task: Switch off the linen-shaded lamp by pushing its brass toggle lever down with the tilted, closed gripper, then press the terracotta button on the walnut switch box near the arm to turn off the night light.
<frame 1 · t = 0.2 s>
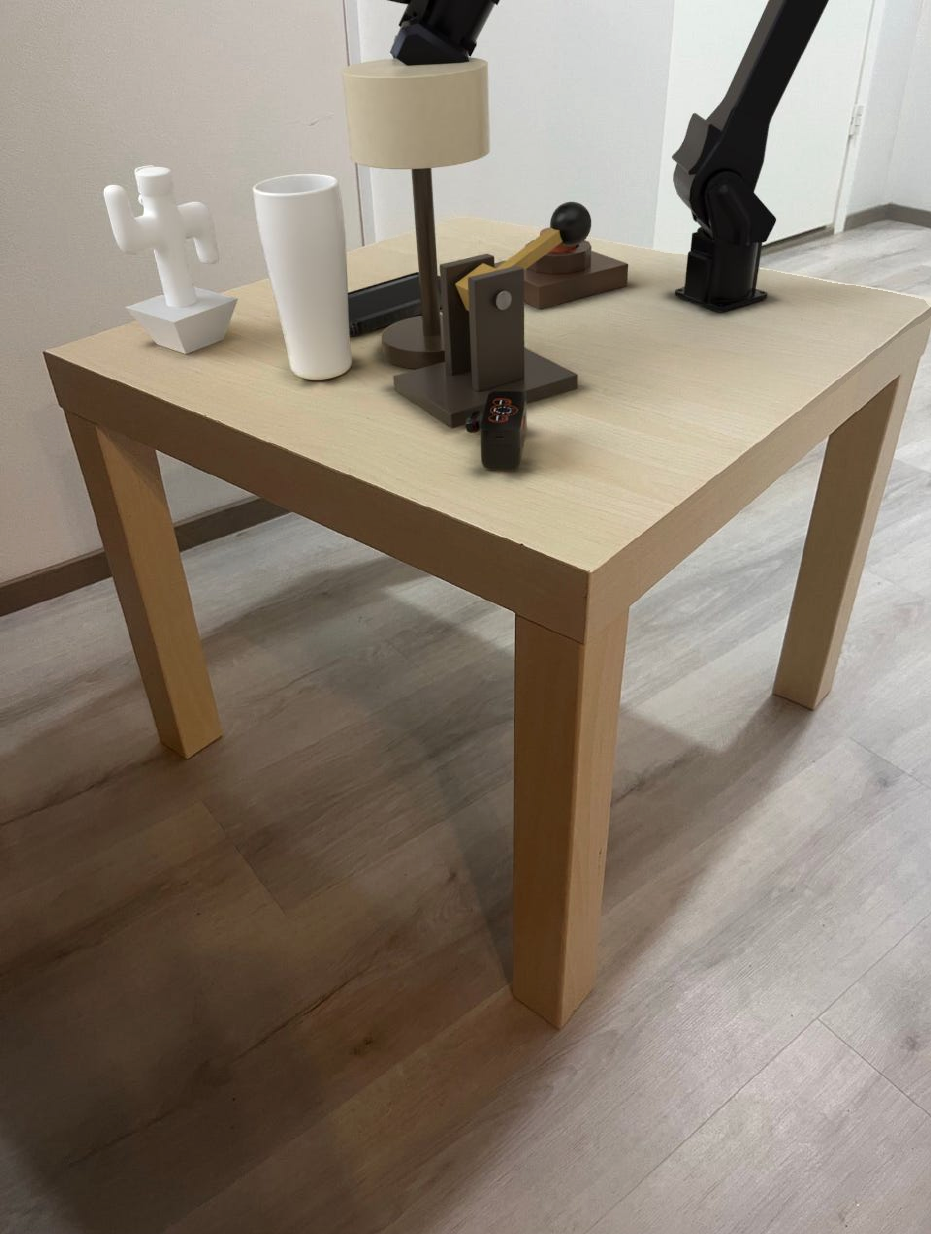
hand: (386, 141, 82), 15 cm above the table, tool tilted 35°, fingers closed
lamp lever: (527, 256, 72), point 10 cm above the table, hinge at 22.0°
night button: (558, 240, 93), point 4 cm above the table, slide at 0.1 cm
figurine: (190, 344, 88), on the table
wireless earbuds: (495, 449, 68), on the table
lamp switch: (485, 389, 76), on the table
lamp: (433, 350, 83), on the table
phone: (388, 309, 92), on the table
drinking glass: (322, 372, 81), on the table
switch box: (557, 286, 96), on the table
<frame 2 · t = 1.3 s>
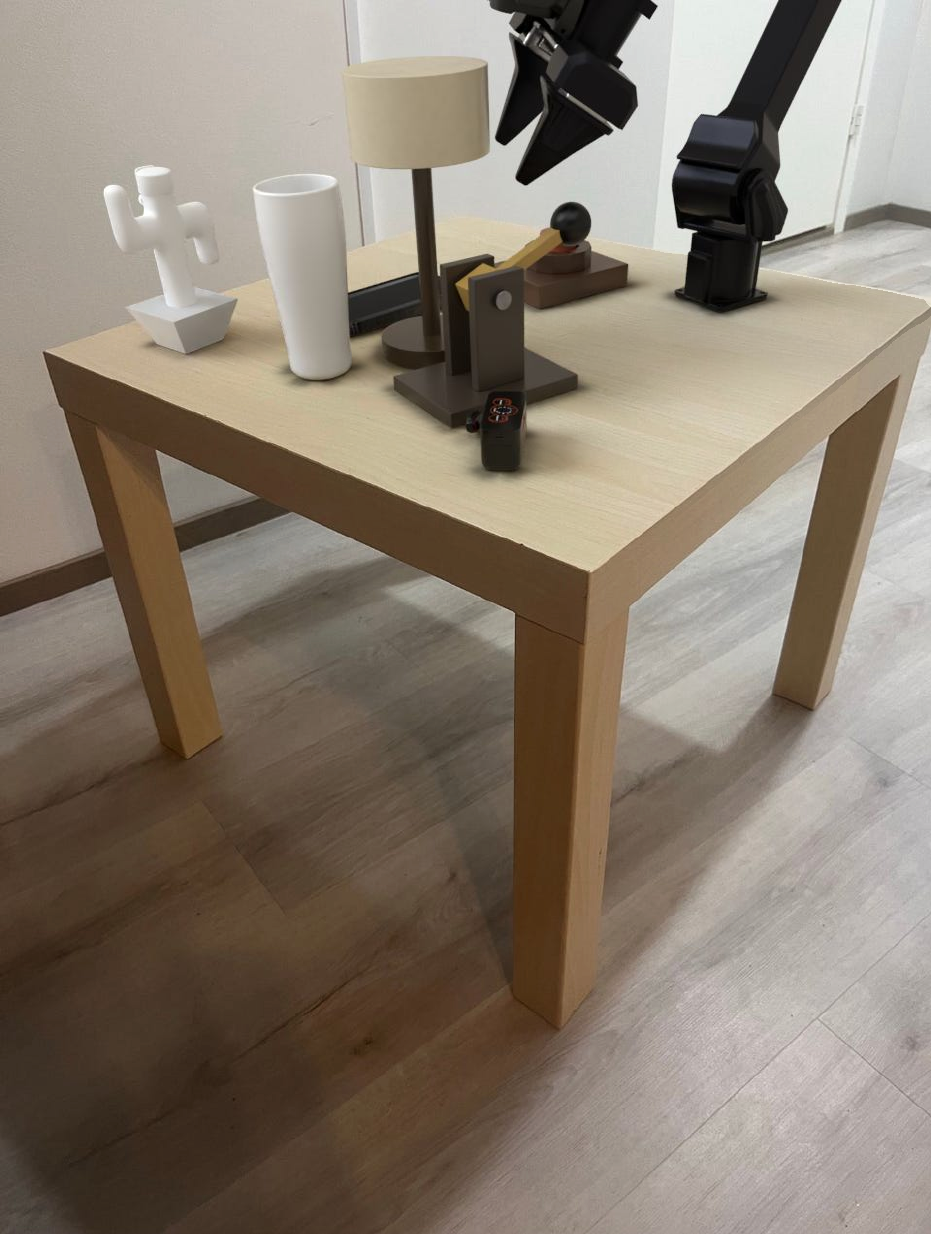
hand: (509, 161, 76), 15 cm above the table, tool tilted 35°, fingers open, 9 cm apart
nothing on the table moved.
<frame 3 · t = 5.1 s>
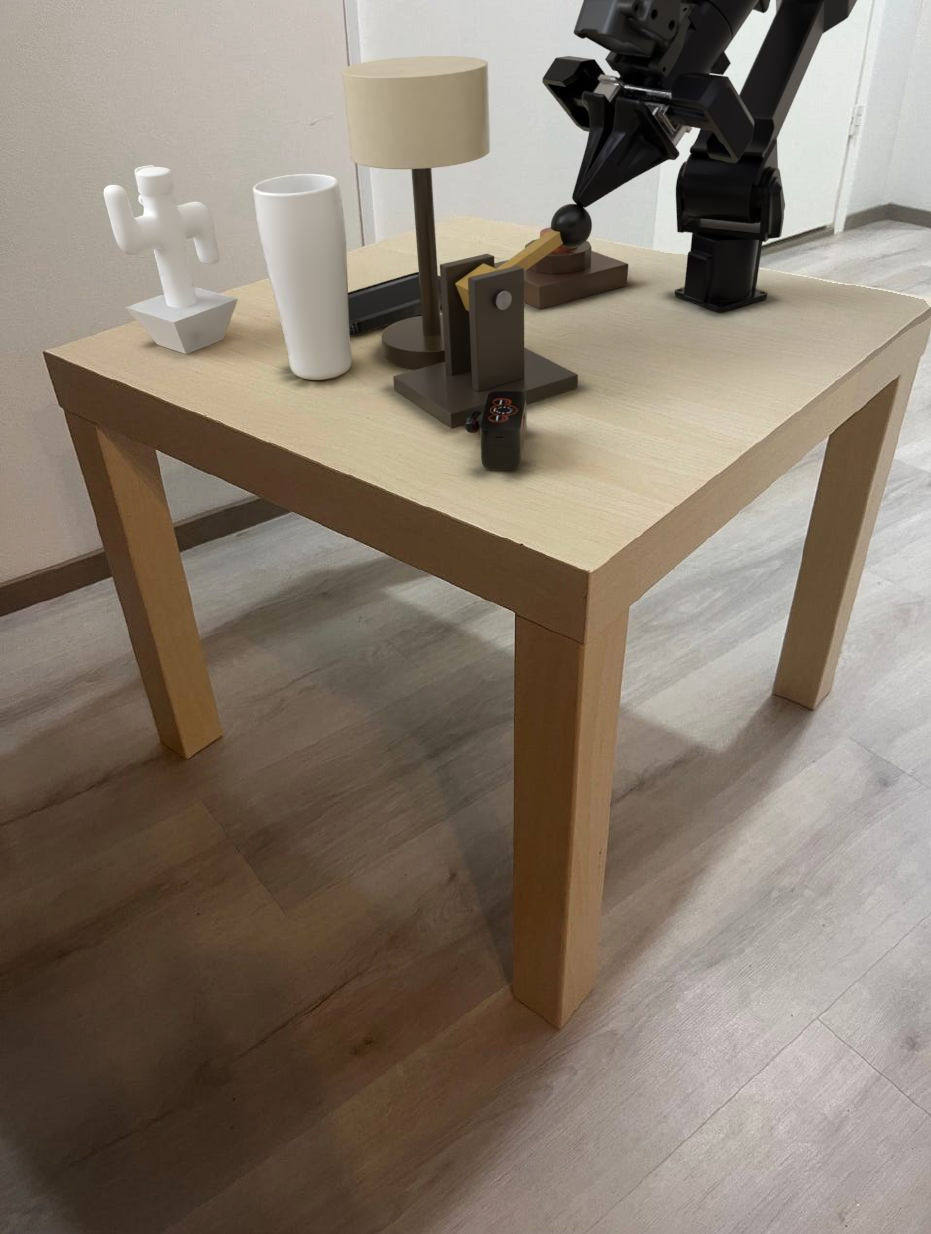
hand: (577, 203, 72), 13 cm above the table, tool tilted 45°, fingers closed, pressing on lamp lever
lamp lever: (528, 257, 72), point 10 cm above the table, hinge at 20.8°, touching gripper
everything else where it was.
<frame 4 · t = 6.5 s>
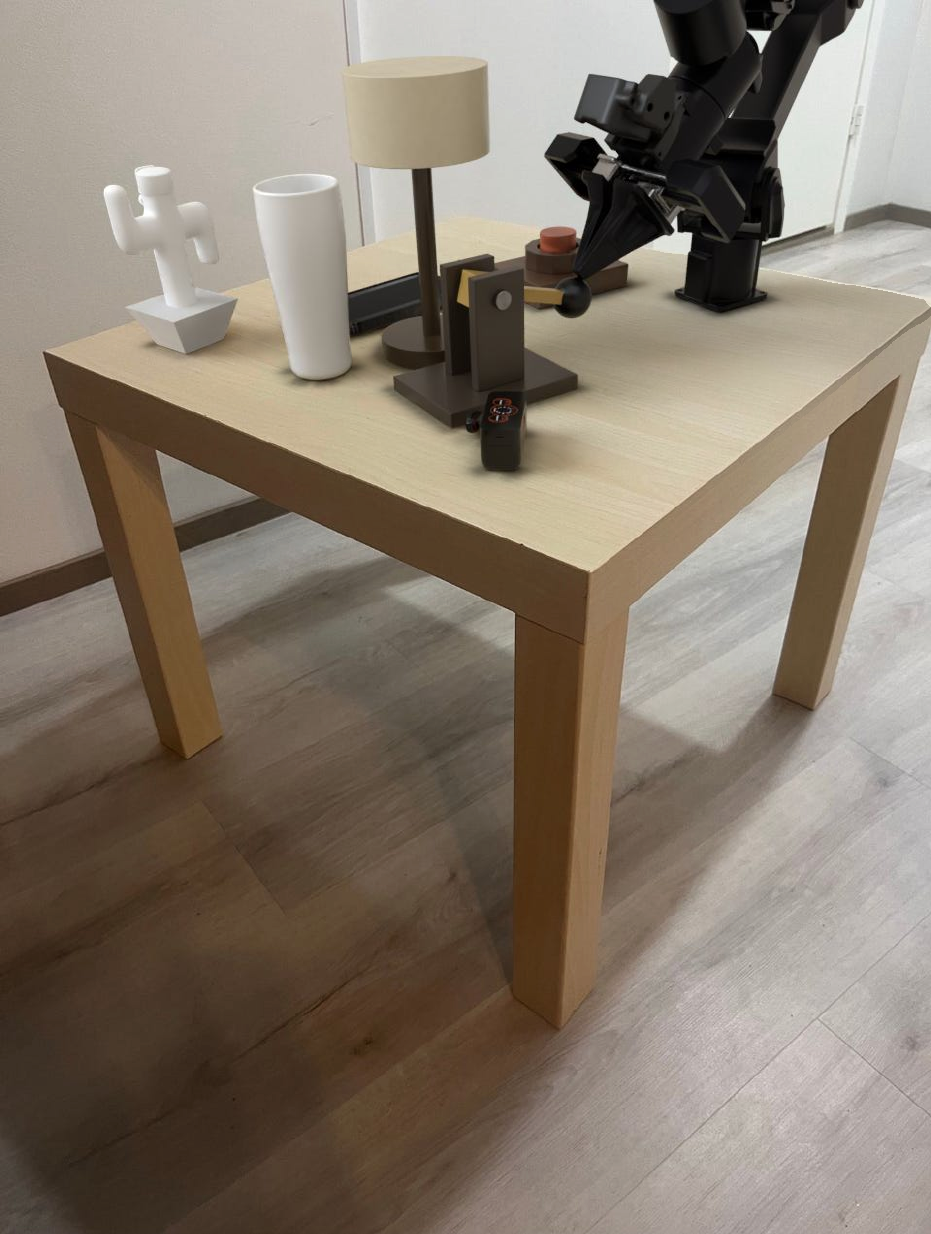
hand: (577, 276, 75), 7 cm above the table, tool tilted 45°, fingers closed, pressing on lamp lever
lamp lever: (529, 294, 74), point 7 cm above the table, hinge at -15.6°, touching gripper
everything else where it was.
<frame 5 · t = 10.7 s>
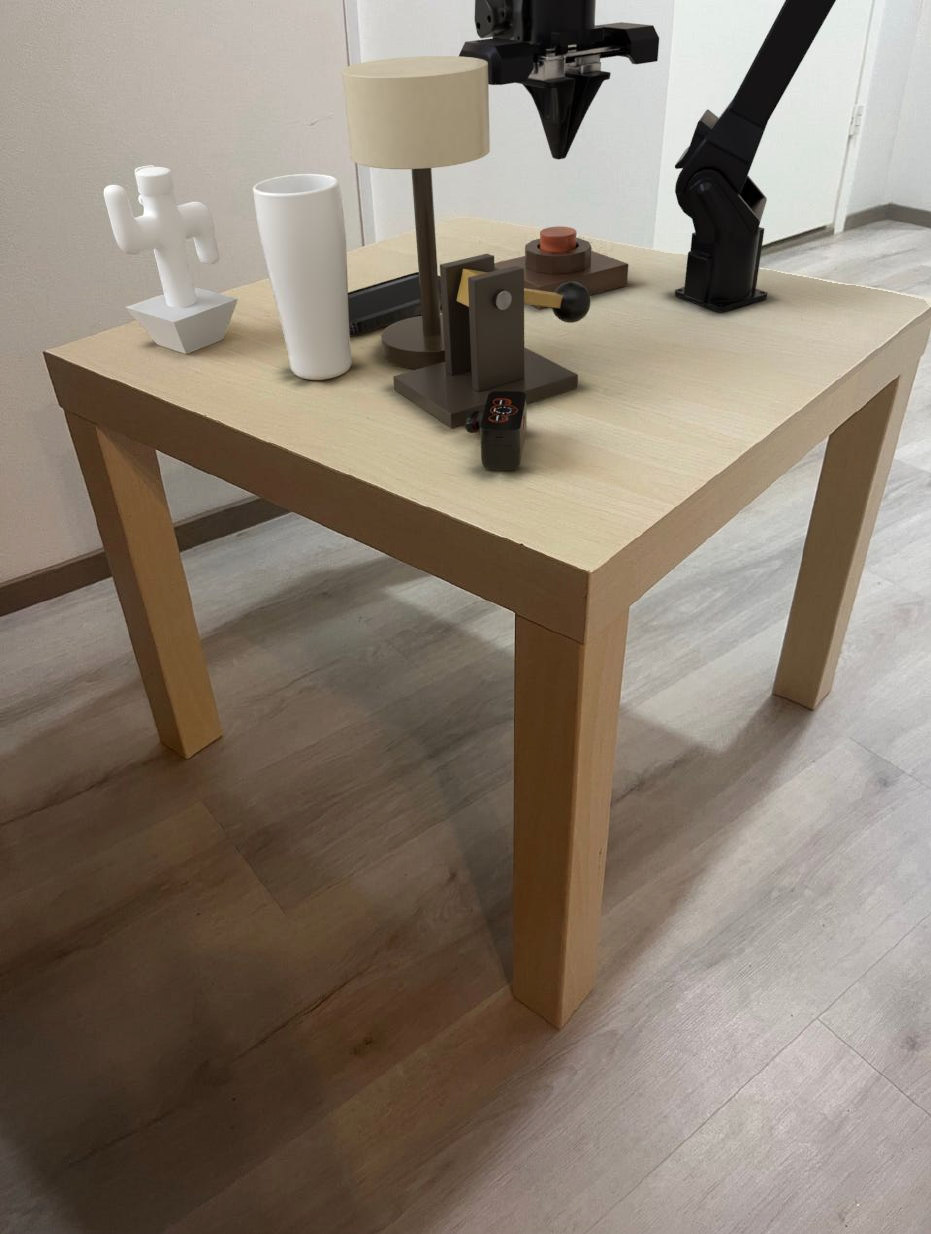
hand: (558, 158, 88), 12 cm above the table, tool pointing down, fingers closed
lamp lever: (529, 296, 74), point 7 cm above the table, hinge at -17.8°
everything else where it was.
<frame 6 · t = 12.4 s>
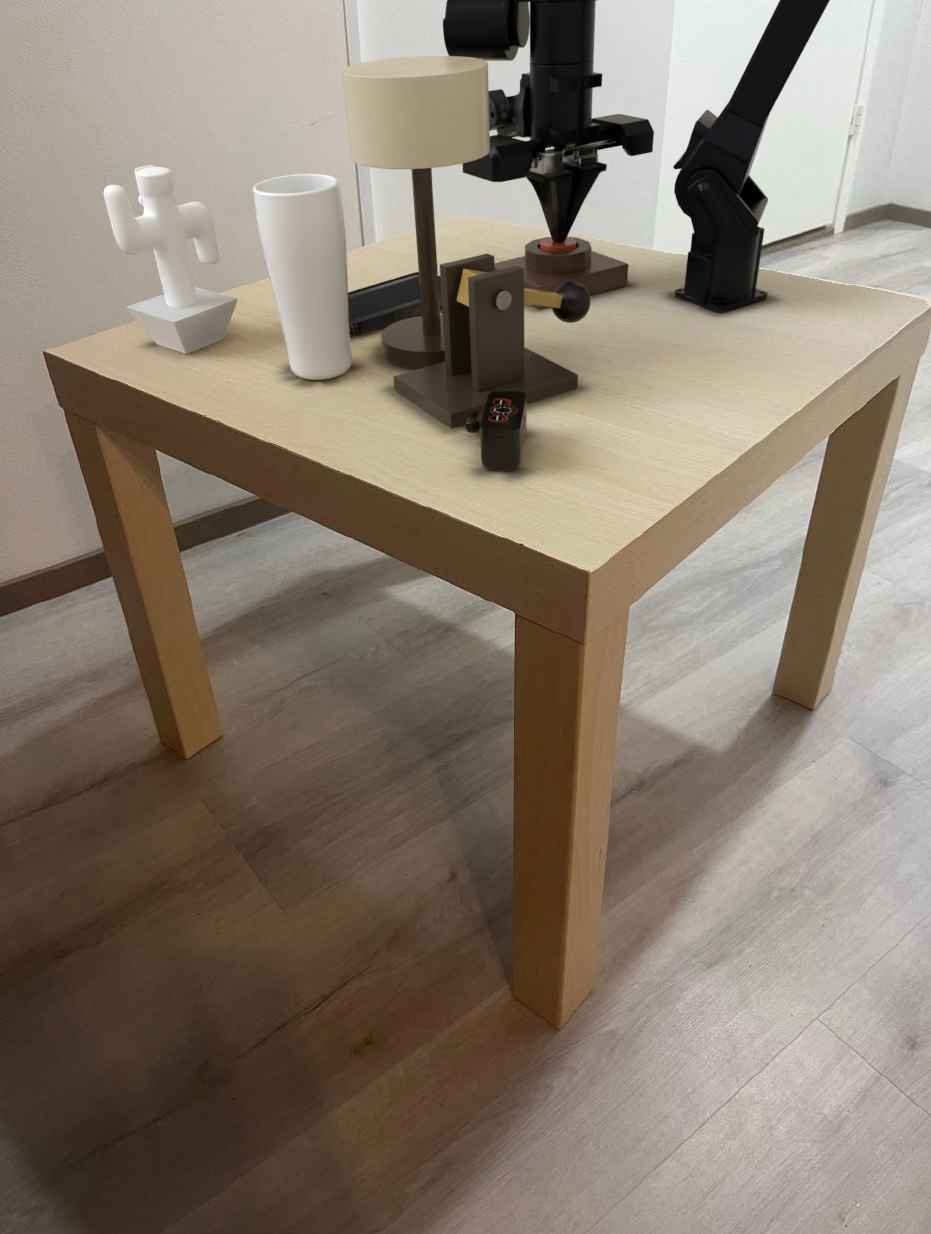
hand: (558, 241, 93), 4 cm above the table, tool pointing down, fingers closed, pressing on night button
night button: (557, 250, 94), point 4 cm above the table, slide at -0.9 cm, touching gripper
everything else where it was.
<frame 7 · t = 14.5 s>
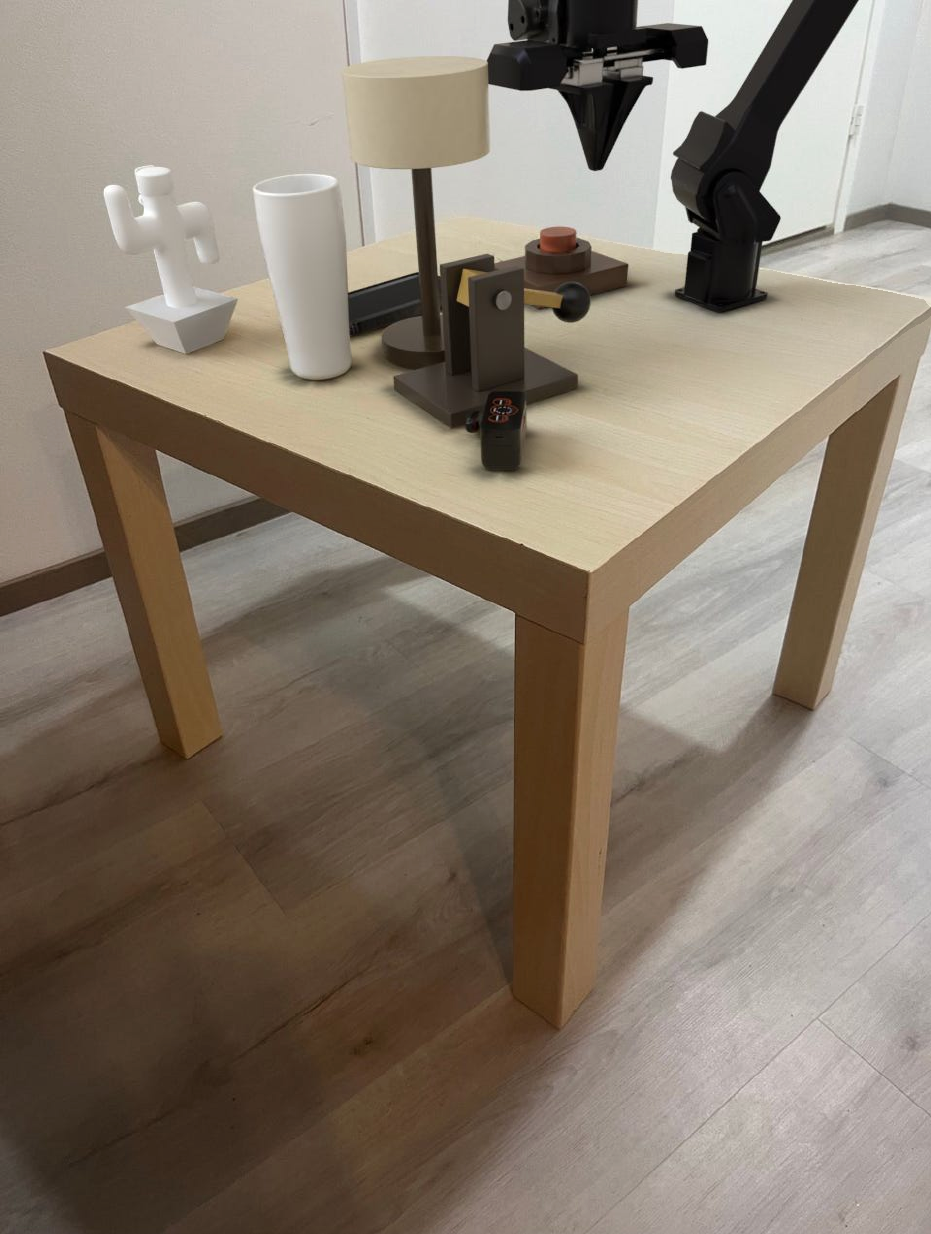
hand: (595, 170, 82), 13 cm above the table, tool pointing down, fingers closed
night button: (558, 240, 93), point 4 cm above the table, slide at 0.1 cm
everything else where it was.
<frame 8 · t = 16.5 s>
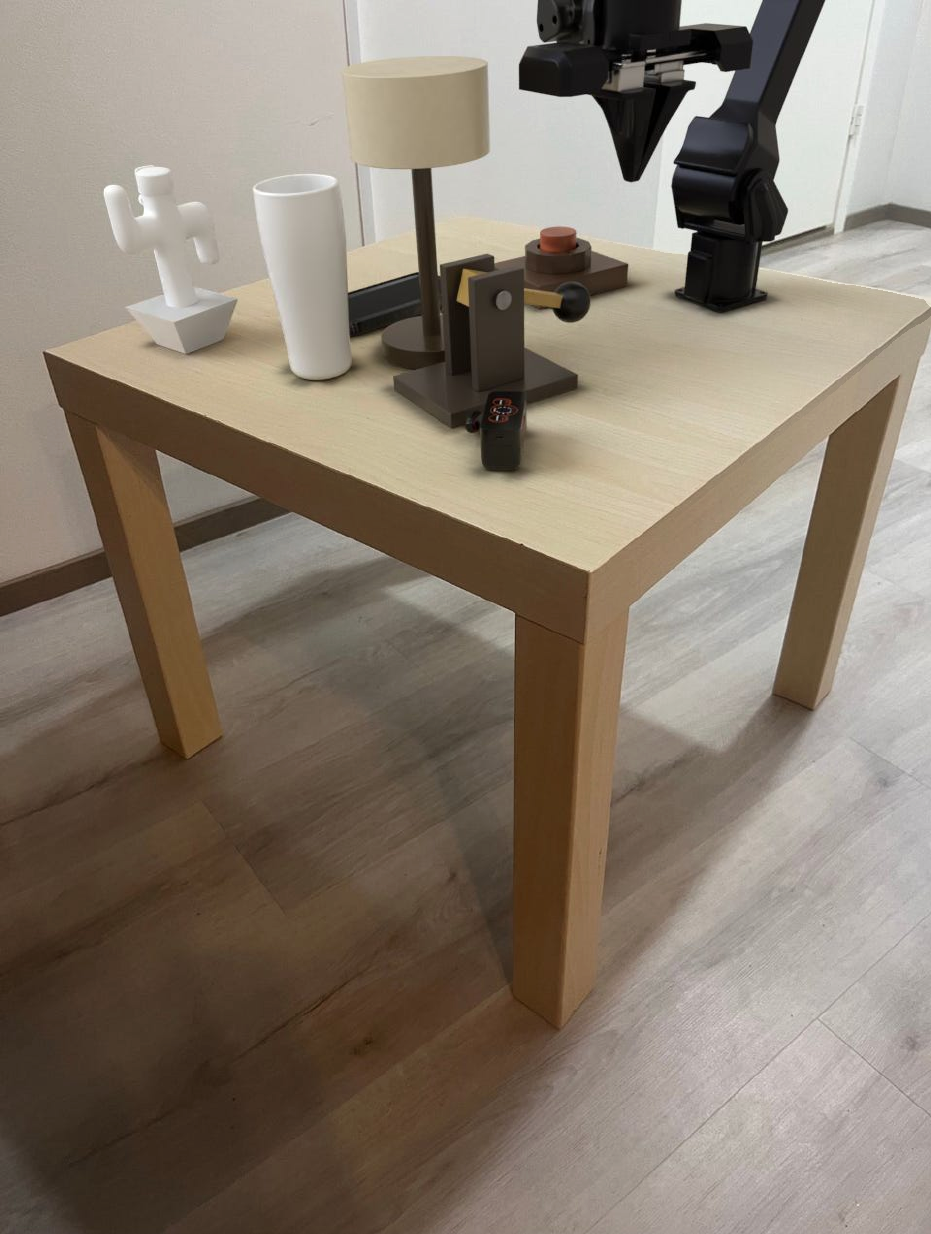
hand: (631, 181, 76), 13 cm above the table, tool pointing down, fingers closed
nothing on the table moved.
at the end: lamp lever at -18° (first picture: +22°); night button pushed in 1.2 cm at the most during the clip, back to where it started at the end; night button slide at 0.1 cm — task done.
